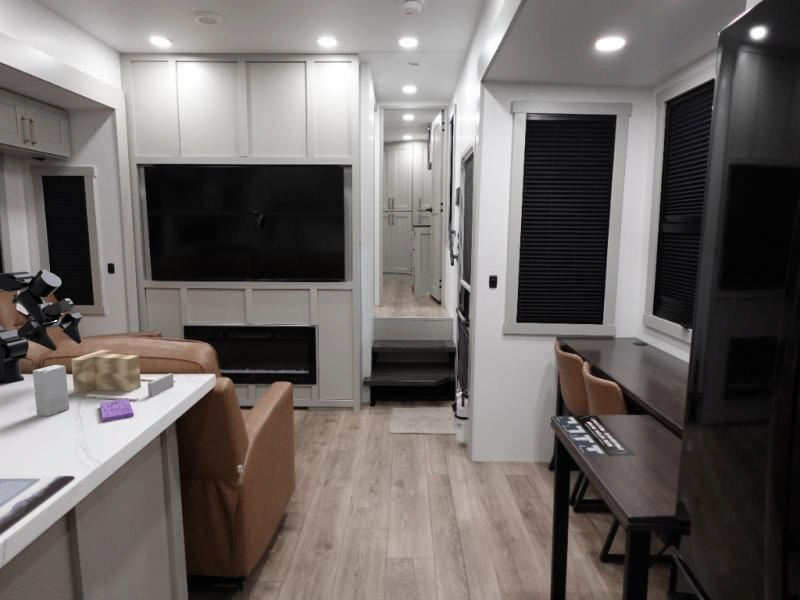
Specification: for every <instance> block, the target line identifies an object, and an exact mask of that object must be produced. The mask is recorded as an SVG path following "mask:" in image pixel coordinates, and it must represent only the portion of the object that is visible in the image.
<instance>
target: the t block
mask: <svg viewBox="0 0 800 600" xmlns="http://www.w3.org/2000/svg"><path fill="white" fill-rule="evenodd" d="M70 362H71V371H72V385H73V393H78V392H84V393H83V394H87V393H86V392H88V393H89V391H90V392H92V391H95V390H105V389H106V391H108V390H109V391H118V390H125V391H124V392H134V391H136V390H138V389H140V387H142V385H141V384H142V380H140V378H141V367H140V356H139V355H135V354H134V355H132V354H117V353H115V352H114V350H112V349H109V350H108V349H101V350H98V351H94V352H92V353H88V354H85V355H84V354H83V355H81V356H78V357H75V358H71V361H70ZM94 389H95V390H94ZM135 389H136V390H135ZM91 390H92V391H91ZM133 390H134V391H133Z"/></svg>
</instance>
